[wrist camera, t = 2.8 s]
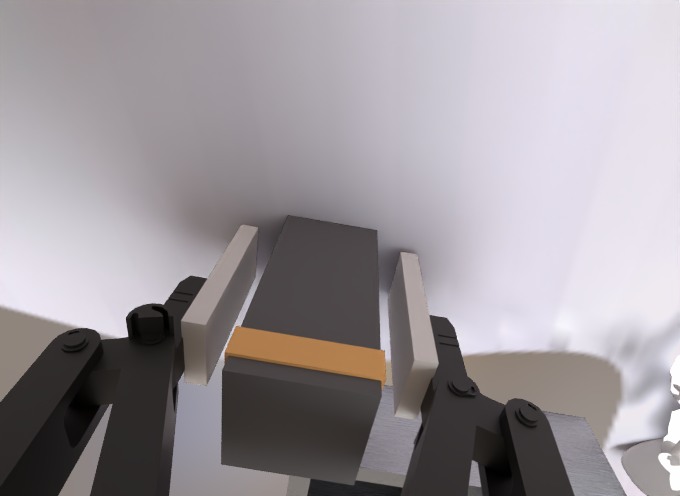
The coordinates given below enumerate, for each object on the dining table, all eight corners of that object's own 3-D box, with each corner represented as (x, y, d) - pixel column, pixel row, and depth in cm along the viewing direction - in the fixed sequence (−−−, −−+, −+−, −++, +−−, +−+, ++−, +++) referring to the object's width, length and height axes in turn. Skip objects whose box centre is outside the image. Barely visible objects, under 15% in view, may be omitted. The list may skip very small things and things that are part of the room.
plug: (286, 212, 18) (218, 366, 10) (379, 228, 18) (386, 394, 10) (278, 288, 20) (217, 466, 12) (362, 303, 20) (356, 487, 12)
